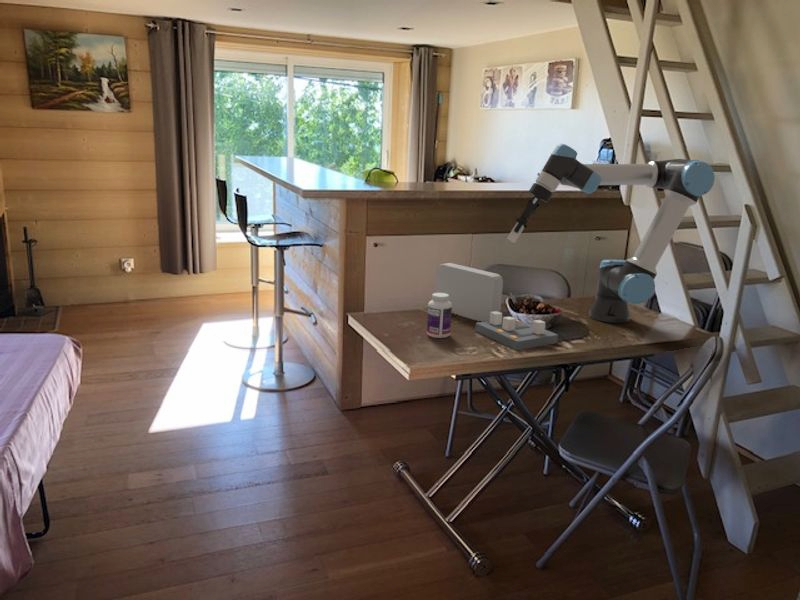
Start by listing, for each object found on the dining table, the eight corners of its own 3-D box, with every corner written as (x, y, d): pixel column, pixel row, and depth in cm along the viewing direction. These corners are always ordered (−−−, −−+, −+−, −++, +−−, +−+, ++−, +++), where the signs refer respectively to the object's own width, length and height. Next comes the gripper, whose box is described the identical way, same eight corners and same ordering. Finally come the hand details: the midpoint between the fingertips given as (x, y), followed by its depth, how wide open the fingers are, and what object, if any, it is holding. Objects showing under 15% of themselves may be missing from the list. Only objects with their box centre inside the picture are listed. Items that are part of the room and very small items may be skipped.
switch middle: (508, 327, 216) (509, 316, 215) (514, 330, 214) (515, 318, 213) (502, 328, 215) (503, 317, 214) (507, 331, 212) (508, 319, 211)
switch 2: (538, 330, 214) (539, 319, 213) (544, 333, 211) (545, 322, 210) (531, 332, 212) (532, 320, 211) (537, 334, 210) (538, 323, 209)
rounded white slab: (503, 321, 234) (507, 274, 230) (490, 325, 229) (494, 277, 224) (446, 304, 254) (449, 261, 249) (433, 307, 249) (436, 263, 244)
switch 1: (496, 321, 222) (496, 311, 221) (501, 324, 219) (502, 313, 218) (489, 322, 220) (490, 311, 219) (494, 325, 218) (495, 314, 217)
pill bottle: (447, 331, 219) (449, 291, 215) (452, 339, 211) (455, 297, 208) (424, 331, 218) (426, 291, 214) (428, 339, 210) (431, 297, 206)
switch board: (514, 325, 230) (515, 316, 229) (557, 343, 212) (558, 334, 211) (475, 330, 221) (475, 322, 220) (516, 350, 203) (517, 341, 202)
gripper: (534, 185, 228) (502, 236, 231) (534, 177, 203) (499, 234, 207) (552, 196, 227) (520, 246, 230) (554, 189, 202) (519, 246, 206)
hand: (510, 241), depth 219 cm, fingers open, 13 cm apart
